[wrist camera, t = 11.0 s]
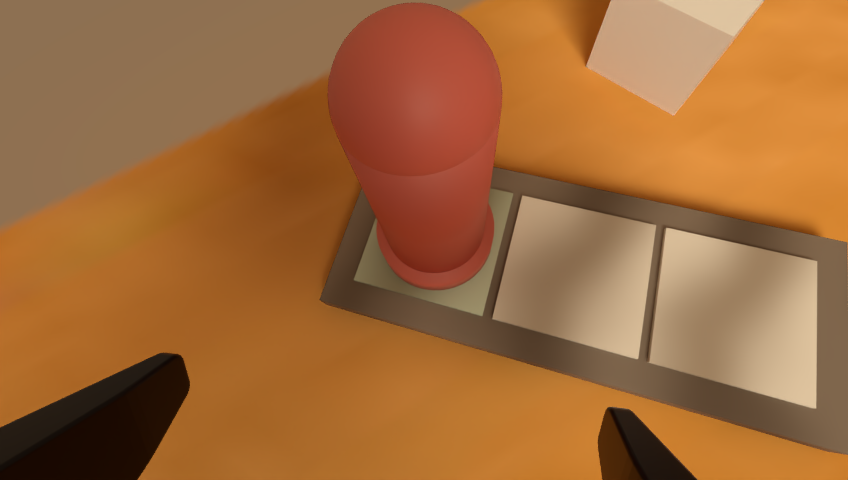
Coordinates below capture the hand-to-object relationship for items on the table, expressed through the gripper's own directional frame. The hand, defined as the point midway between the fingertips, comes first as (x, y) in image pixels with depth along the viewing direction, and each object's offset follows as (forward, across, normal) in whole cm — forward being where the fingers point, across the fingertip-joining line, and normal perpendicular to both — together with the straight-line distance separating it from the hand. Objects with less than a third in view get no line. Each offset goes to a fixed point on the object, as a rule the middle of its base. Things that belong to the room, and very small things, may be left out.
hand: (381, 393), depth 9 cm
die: (+19, -10, -6) cm, 22 cm away
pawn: (+10, 0, +1) cm, 10 cm away
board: (+10, -6, +2) cm, 12 cm away
